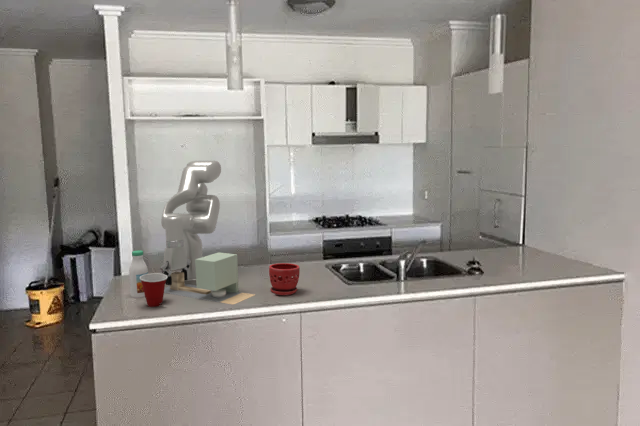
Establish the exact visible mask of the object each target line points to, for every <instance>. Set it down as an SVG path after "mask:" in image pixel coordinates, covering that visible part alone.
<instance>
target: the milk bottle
mask: <svg viewBox="0 0 640 426" xmlns="http://www.w3.org/2000/svg"><path fill="white" fill-rule="evenodd" d="M131 258H132V261H131V263H130V266H129V275H128V277H129V288H130V289H129V292H130V293H129V294H130V297H131V298H145V294H144V290H143V285H142V282H141V280H140V276H142V275H145V274H149V270H148V266H147V264H146V262H145V260H144V250H141V249H140V250H139V249H138V250H133V251H131Z"/></svg>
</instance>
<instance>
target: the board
mask: <svg viewBox="0 0 640 426" xmlns="http://www.w3.org/2000/svg"><path fill="white" fill-rule="evenodd" d="M185 286H187V287H193V288H197V286H196V284H195V285H194V284H191V283H190V284H189V283H185ZM199 289H201V288H199ZM206 290H208V289H206ZM211 292H212V290H211ZM240 293H242V292H241V291H239V292H238V293H234V292H227V291H226V296H224V297H212V293H209V294H207V295H206V294H200V293H194V292H188V291H182V290H173V289H170V285H168V286H165V288H164V294H168V295H169V294H170V295H175V296H180V297H181V296H182V297H187V298H193V299H198V300H205V301H210V302H216V303H221V301H224V300H226V299H229V298H231V297H233V296H236V295H238V294H240Z"/></svg>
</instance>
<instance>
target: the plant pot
mask: <svg viewBox="0 0 640 426" xmlns="http://www.w3.org/2000/svg"><path fill="white" fill-rule="evenodd" d="M300 271H301V270H300V266H299V264H296V263H290V262H289V263H286V262H285V263H284V262H283V263H280V262H279V263H273V264H270V265H269V267H268V275H269V282H270V285H271V286H272V287H270V288H269V289H270V292H271V293H273V294H275V296H291V295H293V294H295V293H297V292H298V287H297V285H298V283H299V280H300Z"/></svg>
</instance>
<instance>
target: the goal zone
mask: <svg viewBox="0 0 640 426" xmlns="http://www.w3.org/2000/svg"><path fill="white" fill-rule="evenodd" d="M252 297H255V293H248V292H241V293H240V294H238V295H236V296H233V297H231V298H229V299H226V300H224V301H221V302H220V303H222V304H228V305H231V306H232V305H236V304H238V303H240V302H243V301H245V300H247V299H250V298H252Z"/></svg>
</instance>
